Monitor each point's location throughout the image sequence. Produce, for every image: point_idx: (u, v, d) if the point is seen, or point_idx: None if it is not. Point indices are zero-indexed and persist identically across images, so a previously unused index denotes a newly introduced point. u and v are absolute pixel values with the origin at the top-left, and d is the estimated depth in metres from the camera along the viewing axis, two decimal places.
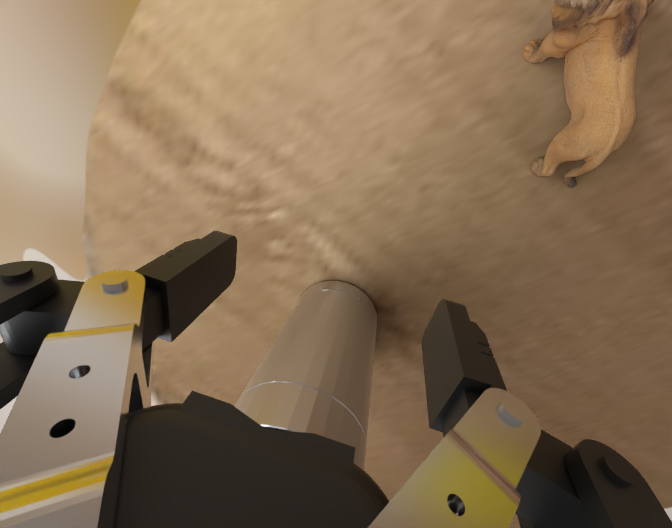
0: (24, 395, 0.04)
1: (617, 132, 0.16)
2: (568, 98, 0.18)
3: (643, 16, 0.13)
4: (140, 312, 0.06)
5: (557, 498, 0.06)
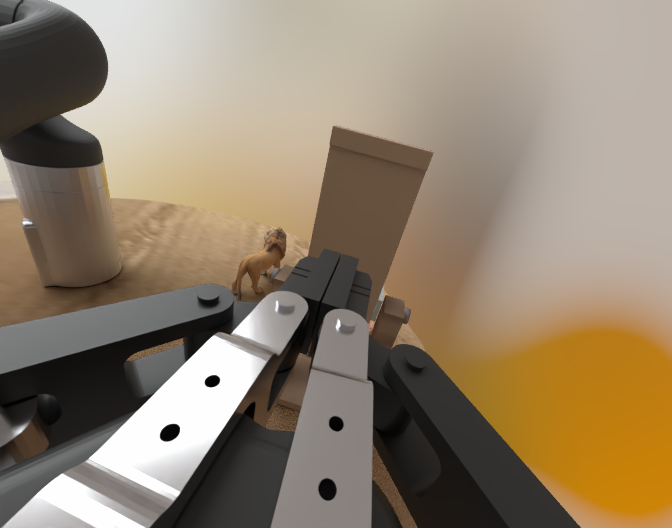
0: (172, 380, 0.05)
1: (252, 256, 0.46)
2: None
3: (272, 243, 0.50)
4: (287, 341, 0.06)
5: None
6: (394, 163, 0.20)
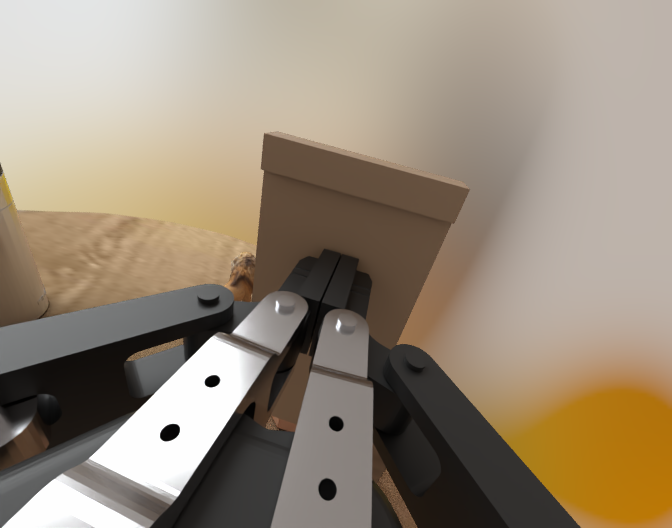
0: (173, 380, 0.05)
1: None
2: None
3: (238, 276, 0.40)
4: (287, 341, 0.06)
5: None
6: (389, 206, 0.10)
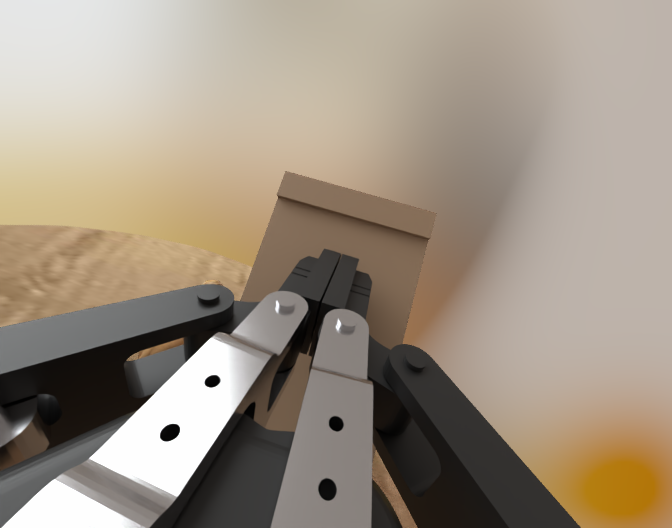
0: (173, 381, 0.05)
1: None
2: None
3: None
4: (287, 341, 0.06)
5: None
6: (378, 228, 0.13)
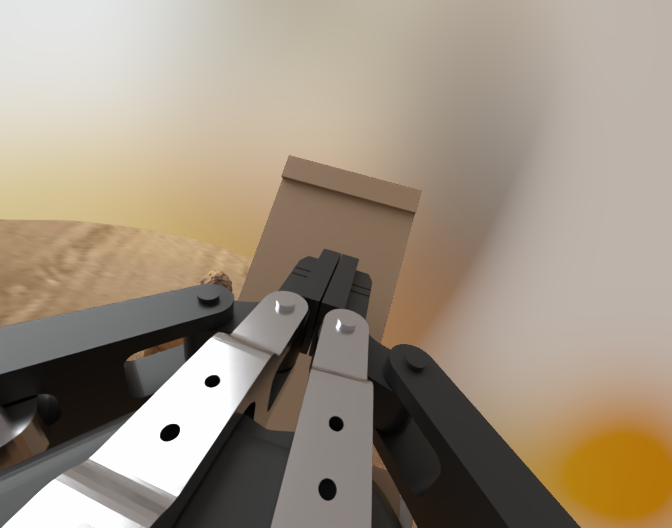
0: (172, 380, 0.05)
1: None
2: None
3: None
4: (287, 341, 0.06)
5: None
6: (370, 205, 0.14)
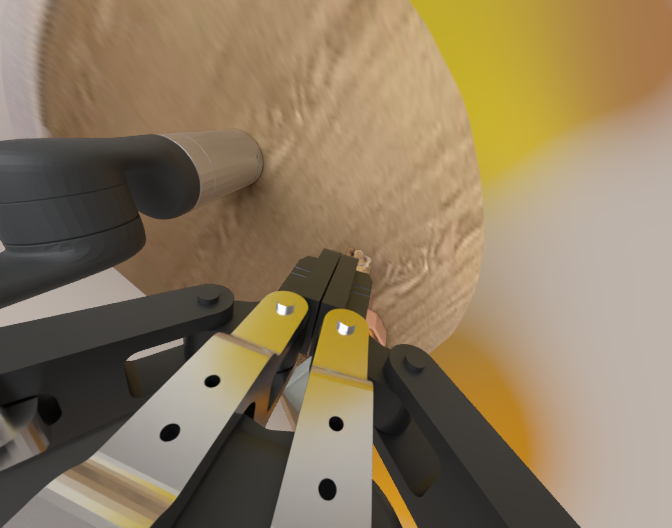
0: (172, 380, 0.05)
1: None
2: None
3: None
4: (287, 341, 0.06)
5: None
6: None
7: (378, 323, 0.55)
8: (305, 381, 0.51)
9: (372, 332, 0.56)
